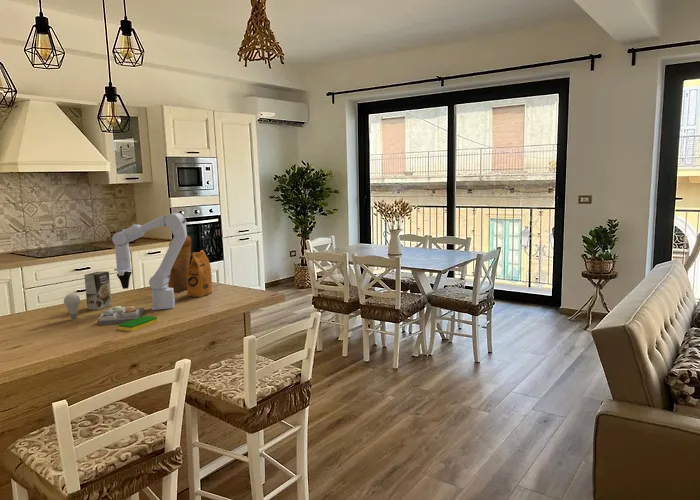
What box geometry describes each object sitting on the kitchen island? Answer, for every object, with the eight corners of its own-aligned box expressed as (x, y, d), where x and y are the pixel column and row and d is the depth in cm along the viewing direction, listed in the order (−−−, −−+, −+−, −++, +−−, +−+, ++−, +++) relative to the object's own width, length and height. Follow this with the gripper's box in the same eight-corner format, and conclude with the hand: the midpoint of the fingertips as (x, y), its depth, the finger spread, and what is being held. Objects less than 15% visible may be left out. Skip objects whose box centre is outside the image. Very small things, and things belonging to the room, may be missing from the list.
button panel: (143, 310, 226) (143, 304, 225) (137, 321, 208) (136, 314, 208) (107, 313, 222) (106, 306, 222) (97, 325, 205) (96, 318, 204)
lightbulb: (85, 317, 216) (82, 292, 215) (73, 321, 210) (70, 295, 209) (74, 316, 218) (71, 291, 216) (62, 320, 212) (59, 295, 211)
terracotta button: (135, 310, 216) (135, 305, 215) (134, 312, 212) (133, 307, 212) (126, 311, 215) (126, 306, 215) (125, 313, 211) (124, 308, 211)
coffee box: (99, 310, 229) (96, 274, 227) (86, 309, 230) (83, 274, 228) (112, 305, 238) (109, 271, 235) (100, 304, 239) (97, 270, 237)
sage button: (122, 310, 221) (122, 305, 220) (120, 312, 217) (120, 307, 217) (113, 310, 220) (113, 306, 219) (111, 312, 216) (111, 308, 216)
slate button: (113, 314, 210) (113, 309, 210) (111, 316, 207) (111, 311, 207) (104, 314, 210) (103, 310, 209) (102, 317, 206) (101, 312, 206)
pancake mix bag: (198, 287, 273) (195, 235, 269) (173, 294, 256) (169, 239, 252) (188, 286, 276) (185, 235, 272) (163, 294, 259) (159, 239, 255)
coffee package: (184, 296, 251) (181, 253, 248) (198, 291, 263) (195, 249, 260) (201, 297, 248) (198, 253, 245) (215, 292, 260) (212, 249, 257)
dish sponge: (118, 330, 198) (117, 324, 198) (144, 321, 211) (144, 315, 210) (131, 332, 195) (131, 326, 195) (158, 322, 208) (157, 317, 208)
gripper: (116, 256, 233) (119, 285, 235) (109, 261, 219) (112, 292, 221) (133, 255, 235) (135, 284, 237) (127, 260, 221) (130, 291, 223)
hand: (125, 288), depth 229 cm, fingers closed
